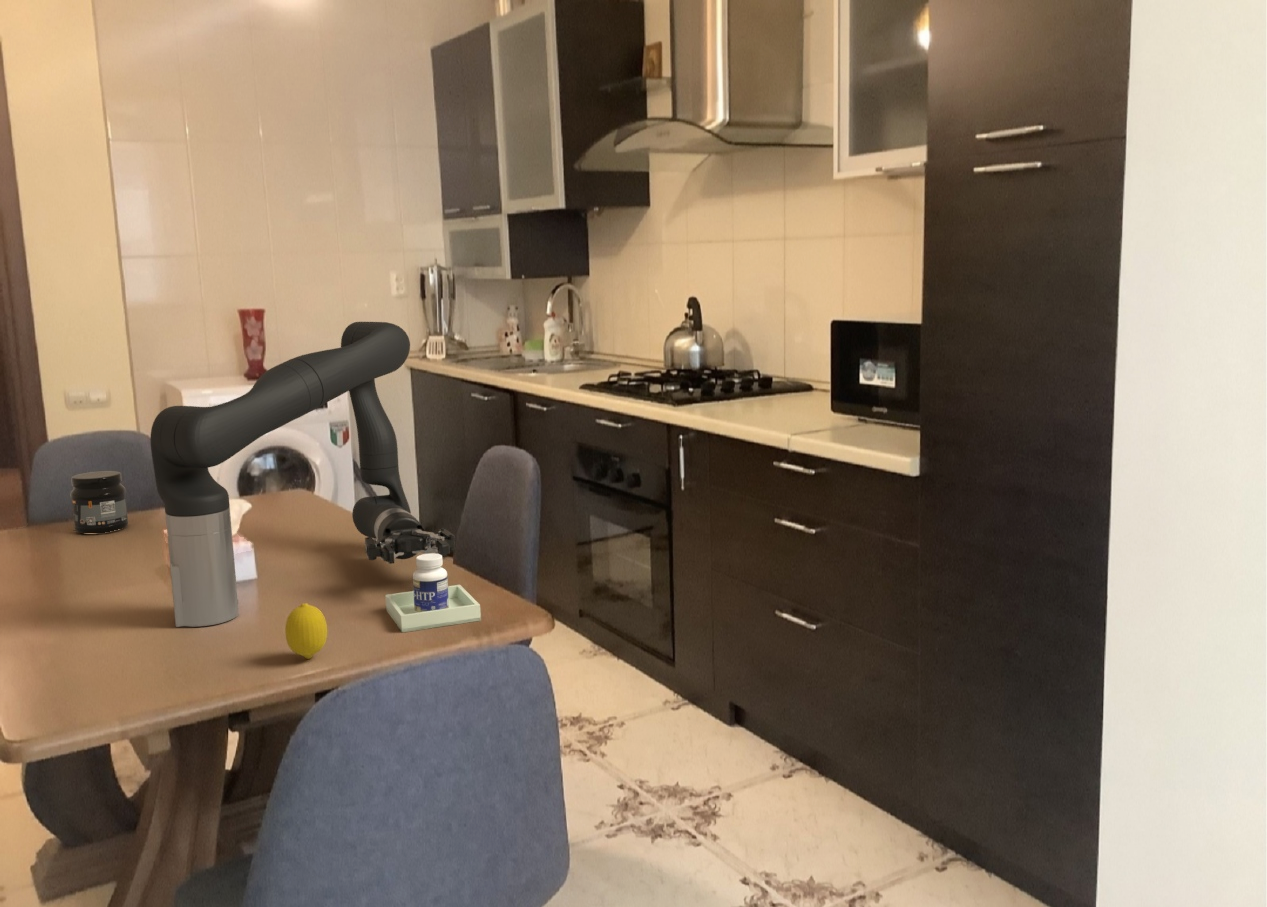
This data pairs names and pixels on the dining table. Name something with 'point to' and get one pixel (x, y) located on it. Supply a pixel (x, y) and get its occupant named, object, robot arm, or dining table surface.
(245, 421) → the robot arm
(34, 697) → the dining table surface
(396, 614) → the tray
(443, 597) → the pill bottle
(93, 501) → the supplement container
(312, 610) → the lemon
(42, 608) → the dining table surface
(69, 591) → the dining table surface
